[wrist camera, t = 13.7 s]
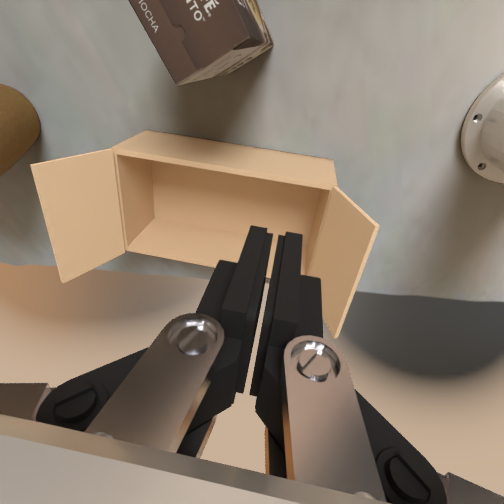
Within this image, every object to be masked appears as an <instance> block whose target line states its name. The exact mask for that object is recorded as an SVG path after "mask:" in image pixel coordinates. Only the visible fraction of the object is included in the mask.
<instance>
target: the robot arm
mask: <svg viewBox="0 0 504 504" xmlns="http://www.w3.org/2000/svg"><path fill="white" fill-rule="evenodd" d="M475 115H477V117H476V118H475V119H473V117H474V116H475ZM461 148H462V153H463V156H464V158H465V161H466V162H467V163H468V165H469V166H470V168H471V169H473V170H474V171H475V172H476V173H477V174H479V175H480V176H482V177H483V178H485V179H488V180H490V181H493V182H498V183H504V73H503V74H502V75H501V76H499V77H498V78H497V79H496V80H494V81H493V82H492V83H491V84H490V85H489V86H488V87H487V88H486V89H485V90H484V91H483V92H482V93H481V94H480V95H479V97H478V98H477V99H476V101H475V102H474V104H473V105H472V106H471V108H470V110H469V112H468V114H467V116H466V118H465V121H464V125H463V128H462V133H461ZM480 163H481V164H480ZM479 164H480V165H479ZM478 165H479V166H478ZM267 229H268V228H264V227H259V226H253V225H251V226H250V229H249V232H248V235H247V238H246V240H245V243H244V246H243V249H242V252H241V255H240V258H239V260H238V263H236V262H231V261H226V260H219V261H218V263H217V266H216V268H215V270H214V272H213V275H212V277H211V279H210V281H209V284H208V286H207V288H206V290H205V293H204V295H203V297H202V299H201V302H200V304H199V306H198V308H197V311H196V313H188V314H184V315H180V316H178V317H176V318H174V319H172V320H171V321H170V322H169V323H168V324H167V325H166V326H165V327H164V328H163V329H162V331H161V332H160V334H159V335H158V336H157V337H156V339H155V340H154V341H153V343H152V344H151V345H150V347H148V348H145V349H143V350H141V351H138V352H136V353H133V354H131V355H128V356H126V357H124V358H121V359H119V360H117V361H114V362H112V363H110V364H107V365H104V366H102V367H100V368H97V369H95V370H93V371H90V372H88V373H85V374H83V375H80V376H78V377H76V378H73V379H71V380H69V381H67V382H65V383H63V384H61V385H59V386H58V387H57V388H50V387H49V384H48V383H0V504H504V497H503V496H501V495H498V494H496V493H494V492H492V491H490V490H487V489H485V488H483V487H481V486H478V485H476V484H474V483H472V482H470V481H467V480H465V479H463V478H461V477H459V476H456V475H454V474H452V473H450V472H448V473H447V474H446V475H445V476H444V475H442V474H440V473H438V472H436V470H435V469H434V468H433V467H432V465H431V464H430V463H429V462H428V461H427V460H426V458H425V457H424V456H423V455H421V453H420V452H419V451H417V450H416V449H415V448H414V447H413V446H412V445H411V444H410V443H409V442H408V441H407V440H406V439H405V438H404V437H403V436H402V435H401V434H400V433H399V432H398V431H397V430H396V429H395V428H394V427H393V426H392V425H391V424H390V423H389V422H388V421H387V420H386V419H385V418H384V417H383V416H382V415H381V414H380V413H379V412H378V411H377V410H376V409H375V408H374V407H373V406H372V405H371V404H370V403H368V402H367V401H366V399H364V398H363V397H362V396H361V395H360V394H359V393H358V392H357V391H356V390H355V389H354V386H353V382H352V379H351V375H350V372H349V368H348V364H347V362H346V359H345V357H344V355H343V354H342V352H341V351H340V350H339V349H338V348H337V347H336V346H335V345H333V344H332V343H331V342H329V341H327V340H325V339H323V322H322V293H321V279H320V278H318V277H312V276H307V275H301V259H302V240H303V234H298V233H293V232H287V231H286V233H285V236H284V235H278V241H277V246H276V252H275V257H274V263H273V268H272V273H271V279H270V284H269V290H268V295H267V301H266V306H265V312H264V317H263V323H262V328H261V334H260V339H259V346H258V350H257V356H256V362H255V367H254V373H253V378H252V384H251V389H250V395H253V396H257V399H256V405H255V409H256V413H257V414H258V416H259V417H260V418H261V420H262V421H263V423H264V424H265V425H266V427H265V463H266V464H265V467H266V474H264V473H259V472H255V471H251V470H246V469H242V468H238V467H233V466H229V465H224V464H221V463H216V462H212V461H208V460H203V459H200V457H201V455H202V452H203V450H204V448H205V445H206V443H207V440H208V438H209V436H210V433H211V431H212V429H213V426H214V424H215V421H216V417H217V414H219V413H220V412H222V411H224V410H226V409H227V408H229V407H230V406H231V404H233V403H234V399H235V394H236V392H238V393H243V392H244V387H245V382H246V377H247V373H248V367H249V363H250V357H251V353H252V347H253V342H254V337H255V332H256V328H257V323H258V318H259V313H260V308H261V302H262V297H263V290H264V285H265V280H266V274H267V268H268V262H269V256H270V250H271V244H272V239H273V233H267Z"/></svg>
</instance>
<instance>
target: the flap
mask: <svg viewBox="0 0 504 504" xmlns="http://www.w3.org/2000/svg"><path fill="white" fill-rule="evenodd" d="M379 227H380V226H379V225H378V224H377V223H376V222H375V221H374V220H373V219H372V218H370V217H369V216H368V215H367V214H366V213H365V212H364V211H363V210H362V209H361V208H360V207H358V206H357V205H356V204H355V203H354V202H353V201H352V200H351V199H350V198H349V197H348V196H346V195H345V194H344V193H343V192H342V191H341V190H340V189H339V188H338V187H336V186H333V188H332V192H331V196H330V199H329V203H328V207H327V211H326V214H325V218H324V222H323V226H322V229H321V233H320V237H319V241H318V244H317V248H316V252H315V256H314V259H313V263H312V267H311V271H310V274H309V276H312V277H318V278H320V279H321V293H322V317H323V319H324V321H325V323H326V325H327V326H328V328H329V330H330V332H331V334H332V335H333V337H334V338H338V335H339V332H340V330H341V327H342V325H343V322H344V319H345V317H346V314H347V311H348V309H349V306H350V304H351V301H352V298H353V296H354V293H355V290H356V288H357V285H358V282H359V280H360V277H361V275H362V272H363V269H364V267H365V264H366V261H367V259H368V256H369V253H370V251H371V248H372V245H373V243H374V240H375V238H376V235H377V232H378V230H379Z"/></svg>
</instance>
